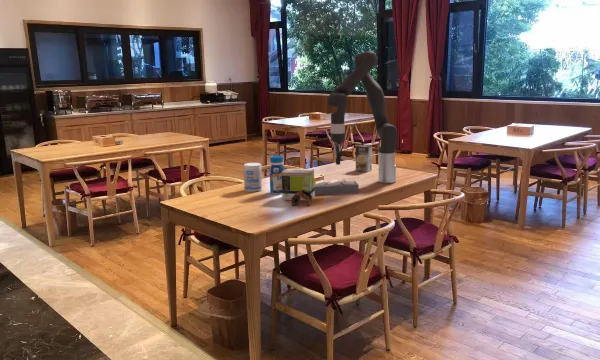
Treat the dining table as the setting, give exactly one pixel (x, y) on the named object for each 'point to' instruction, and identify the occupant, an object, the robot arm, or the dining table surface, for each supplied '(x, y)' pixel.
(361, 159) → the coffee box
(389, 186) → the dining table surface
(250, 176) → the supplement tub
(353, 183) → the plate
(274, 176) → the beverage bottle
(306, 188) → the tea box
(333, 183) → the rocker
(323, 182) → the rocker
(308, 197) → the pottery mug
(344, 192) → the strip housing
